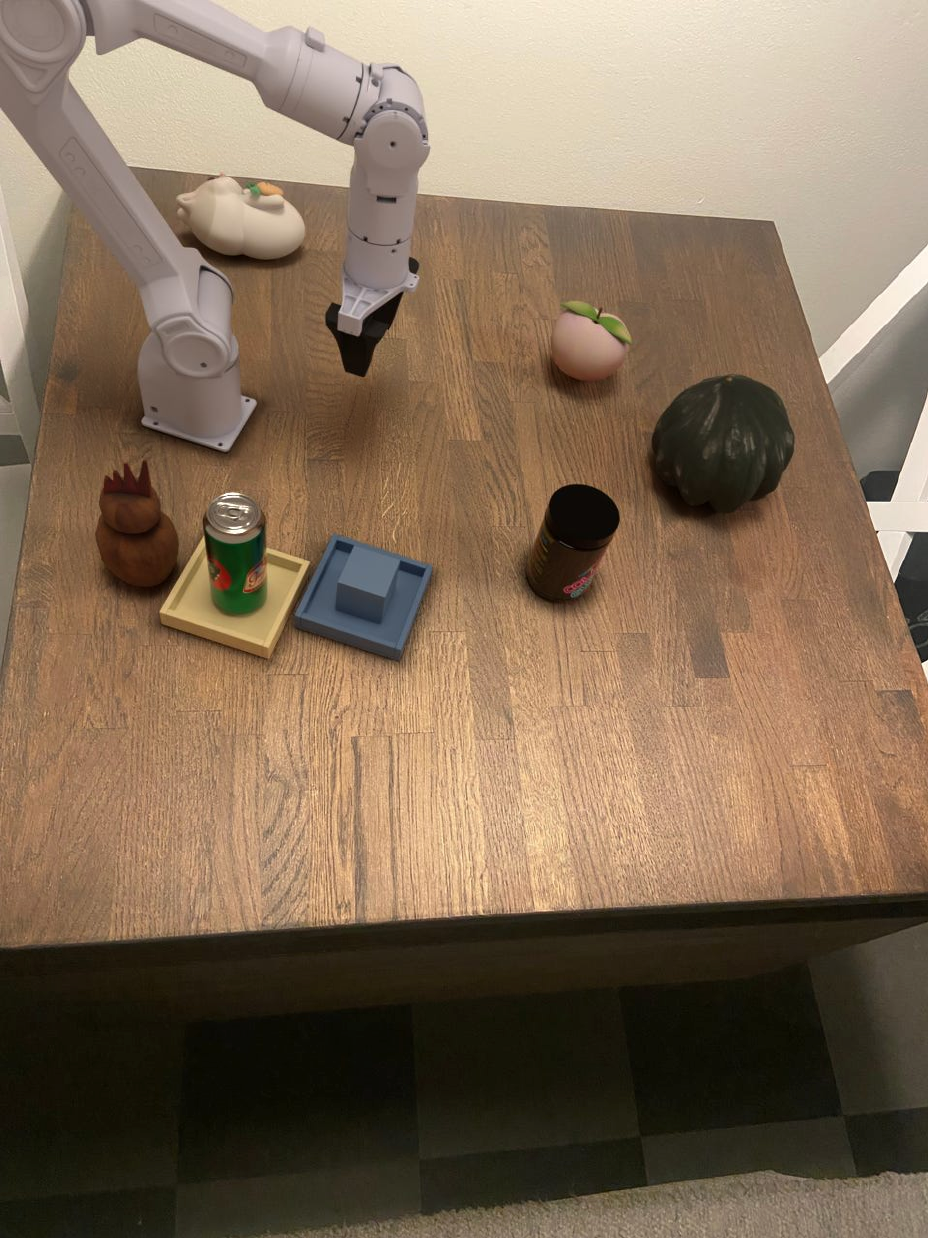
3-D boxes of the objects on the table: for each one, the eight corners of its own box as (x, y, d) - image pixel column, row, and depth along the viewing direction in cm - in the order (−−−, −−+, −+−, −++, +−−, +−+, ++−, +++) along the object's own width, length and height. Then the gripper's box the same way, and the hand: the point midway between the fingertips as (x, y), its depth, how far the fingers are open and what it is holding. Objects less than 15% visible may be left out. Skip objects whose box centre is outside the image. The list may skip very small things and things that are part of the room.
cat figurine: (312, 179, 106) (178, 150, 102) (307, 247, 106) (171, 221, 102) (304, 216, 116) (180, 191, 112) (298, 278, 115) (174, 255, 111)
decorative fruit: (529, 383, 107) (549, 314, 99) (551, 343, 112) (572, 274, 104) (603, 413, 107) (630, 346, 98) (622, 372, 111) (649, 304, 103)
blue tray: (293, 627, 84) (294, 615, 83) (332, 545, 90) (333, 533, 88) (399, 661, 84) (401, 650, 82) (430, 577, 90) (433, 565, 88)
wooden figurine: (193, 560, 86) (177, 449, 74) (162, 606, 83) (140, 498, 71) (127, 534, 87) (101, 420, 74) (94, 579, 83) (60, 468, 71)
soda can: (257, 624, 83) (253, 543, 73) (203, 610, 83) (192, 527, 73) (274, 581, 86) (273, 497, 76) (222, 567, 86) (214, 482, 76)
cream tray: (161, 624, 82) (158, 611, 80) (209, 540, 88) (208, 527, 86) (268, 659, 82) (268, 647, 80) (309, 573, 88) (310, 561, 86)
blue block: (335, 609, 85) (337, 581, 82) (351, 573, 88) (354, 544, 84) (380, 624, 85) (385, 597, 82) (395, 587, 88) (400, 560, 84)
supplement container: (547, 614, 90) (575, 550, 81) (511, 563, 92) (534, 496, 84) (601, 591, 92) (634, 526, 84) (565, 542, 95) (593, 475, 86)
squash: (830, 467, 100) (801, 336, 93) (758, 540, 93) (720, 405, 86) (721, 467, 111) (687, 350, 104) (648, 532, 104) (607, 411, 97)
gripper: (398, 287, 76) (383, 407, 87) (446, 196, 84) (427, 317, 95) (317, 261, 76) (312, 384, 87) (373, 172, 84) (362, 296, 95)
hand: (368, 348), depth 91 cm, fingers open, 7 cm apart
